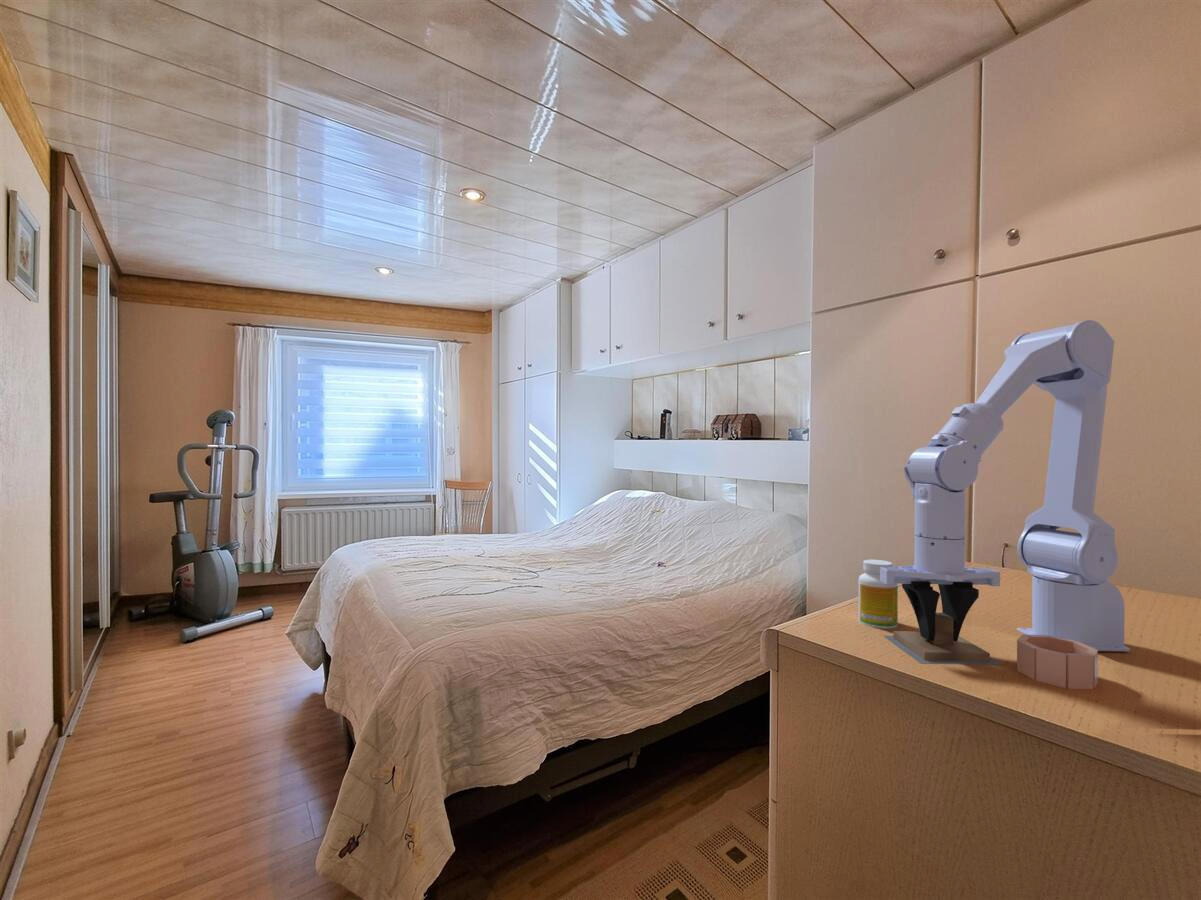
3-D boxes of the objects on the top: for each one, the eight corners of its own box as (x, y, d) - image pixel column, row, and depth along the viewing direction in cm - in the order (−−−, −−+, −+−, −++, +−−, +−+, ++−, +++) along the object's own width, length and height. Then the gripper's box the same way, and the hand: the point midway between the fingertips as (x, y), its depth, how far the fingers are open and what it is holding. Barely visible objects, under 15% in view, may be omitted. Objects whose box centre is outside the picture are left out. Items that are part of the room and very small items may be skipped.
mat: (954, 639, 77) (954, 636, 77) (1003, 667, 68) (1003, 664, 68) (882, 638, 78) (882, 635, 78) (920, 666, 68) (920, 662, 68)
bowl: (1063, 667, 68) (1063, 635, 68) (1113, 692, 61) (1113, 656, 61) (1004, 666, 68) (1005, 634, 68) (1048, 691, 61) (1048, 655, 61)
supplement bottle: (902, 632, 81) (903, 566, 81) (863, 629, 82) (863, 564, 82) (891, 620, 86) (891, 559, 86) (854, 618, 87) (854, 557, 87)
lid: (951, 639, 77) (951, 607, 77) (989, 661, 69) (989, 625, 69) (893, 638, 77) (893, 606, 77) (924, 660, 69) (924, 624, 69)
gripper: (898, 540, 69) (897, 648, 69) (1017, 542, 68) (1016, 650, 68) (873, 532, 76) (872, 629, 76) (980, 533, 75) (980, 631, 75)
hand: (938, 638), depth 73 cm, fingers closed on lid, 2 cm apart
